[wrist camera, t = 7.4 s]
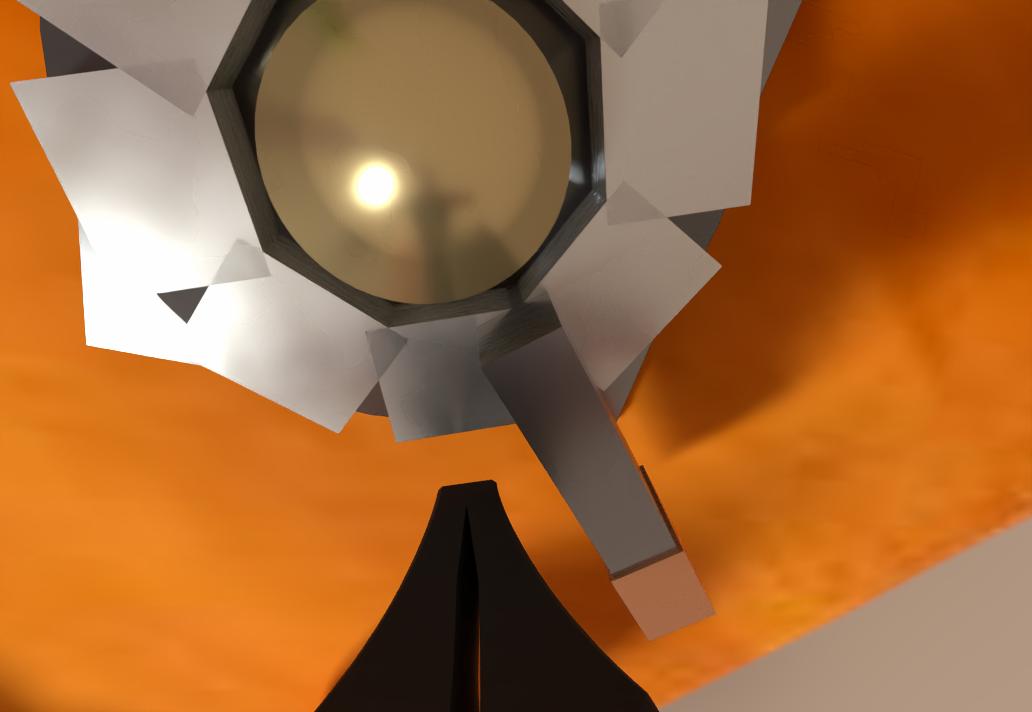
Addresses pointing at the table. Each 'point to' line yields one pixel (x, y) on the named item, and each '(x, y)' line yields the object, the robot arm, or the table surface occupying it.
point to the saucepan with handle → (441, 326)
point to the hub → (401, 152)
